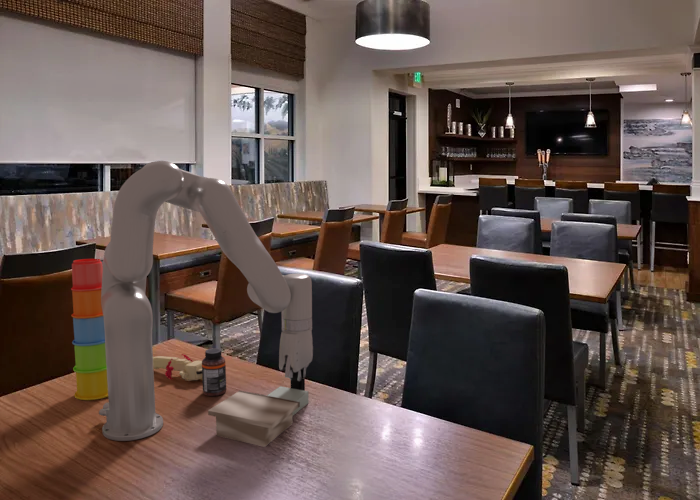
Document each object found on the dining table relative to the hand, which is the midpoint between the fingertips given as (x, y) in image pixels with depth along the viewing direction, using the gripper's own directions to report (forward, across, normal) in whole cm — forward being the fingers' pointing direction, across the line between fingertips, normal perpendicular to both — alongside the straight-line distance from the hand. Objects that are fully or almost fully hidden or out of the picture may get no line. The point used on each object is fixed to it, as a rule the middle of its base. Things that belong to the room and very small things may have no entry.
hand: (297, 393), depth 142 cm
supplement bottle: (+1, +6, -21) cm, 22 cm away
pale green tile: (+1, +8, 0) cm, 8 cm away
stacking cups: (+1, +19, -48) cm, 52 cm away
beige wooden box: (+1, +19, 0) cm, 20 cm away
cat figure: (+1, 0, -40) cm, 40 cm away
